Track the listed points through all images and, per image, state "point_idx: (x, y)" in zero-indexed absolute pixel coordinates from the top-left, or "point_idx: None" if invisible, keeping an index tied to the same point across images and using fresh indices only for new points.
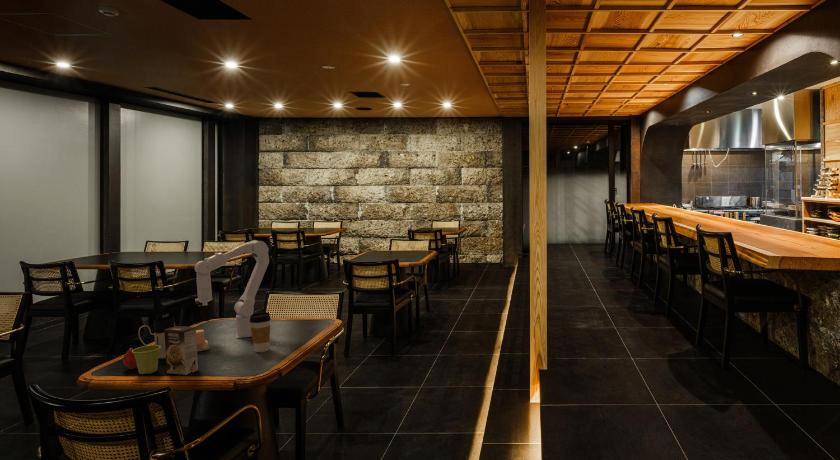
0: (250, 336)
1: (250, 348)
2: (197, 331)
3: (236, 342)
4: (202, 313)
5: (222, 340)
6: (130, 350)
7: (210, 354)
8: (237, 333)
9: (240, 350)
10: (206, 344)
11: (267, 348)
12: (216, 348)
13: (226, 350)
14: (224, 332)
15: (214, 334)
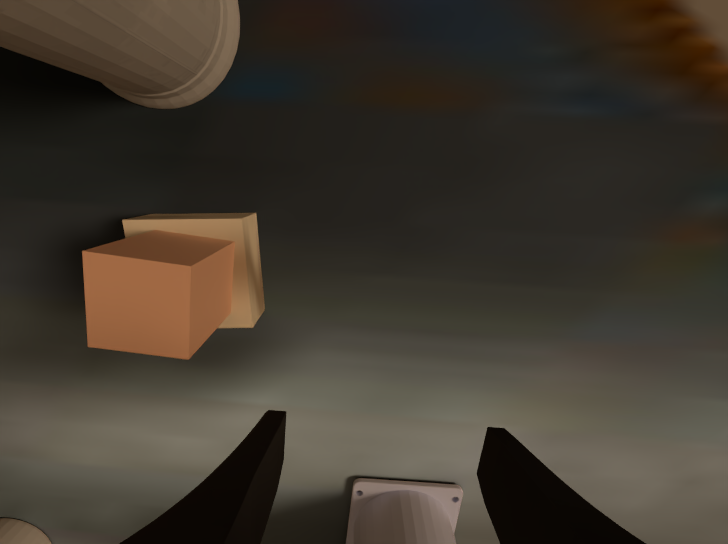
0: (346, 540)
1: (79, 508)
2: (126, 297)
3: None
4: (202, 493)
5: (366, 404)
6: None
7: (32, 310)
8: (395, 504)
9: (57, 463)
10: None
11: None
12: None
13: (92, 400)
14: (580, 434)
15: (573, 377)
